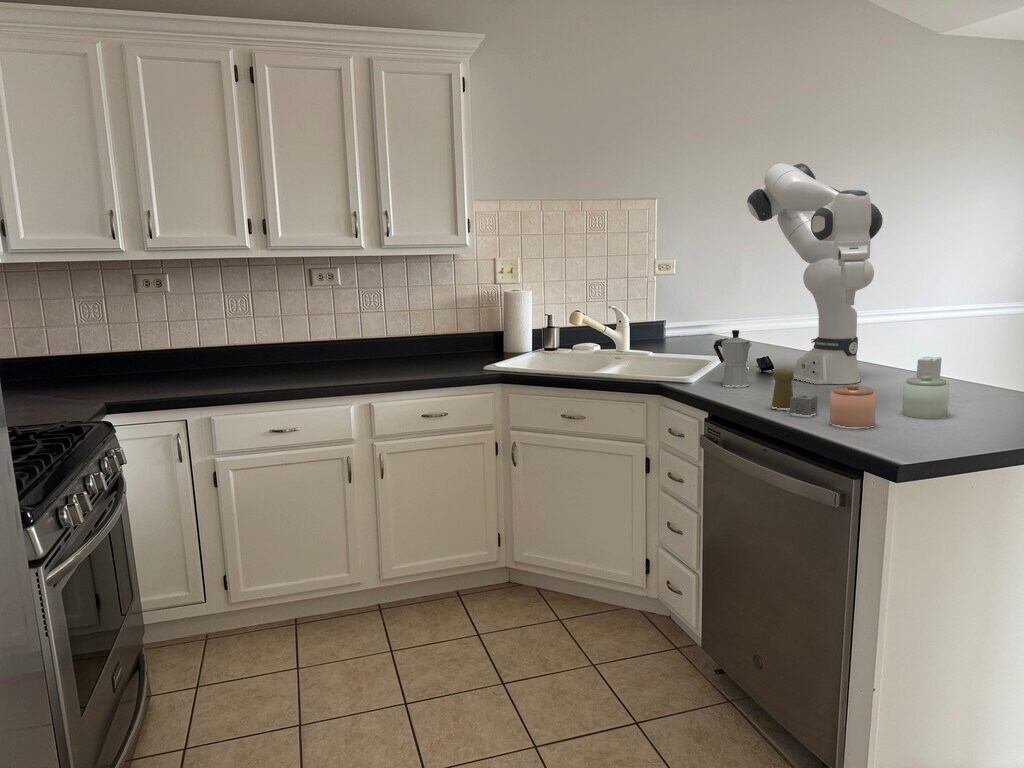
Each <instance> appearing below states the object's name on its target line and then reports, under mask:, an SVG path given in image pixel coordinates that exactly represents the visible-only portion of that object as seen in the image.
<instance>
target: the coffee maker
mask: <svg viewBox="0 0 1024 768" xmlns="http://www.w3.org/2000/svg"><path fill="white" fill-rule="evenodd" d="M731 333H732V334H731V335H732V337H731V338H726V337H725V338H720V339H716V340H715V341H714V344H713V349H714V351H715V354H716V355H717V357H718V360H719V362H720V363H721V364H722V363H725V365H724V370H723V376H722V380H721V381H722V383H723V385H730V386H732V385H740V386H742V385H747V384H749V383H750V382H749V377H748V370H747V364H746V362H747V361H748V358H749V357H748V356H749V353H750V352H749V350H750V348H751V346H753V344H752V343H751V340H749V339H745V338H742V337H739V335H740V330H738V329H733V330H731ZM719 347H720V348H721V349H722V352H721V350H720V348H719ZM722 383H721V384H722ZM749 385H750V384H749Z"/></svg>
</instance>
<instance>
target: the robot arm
mask: <svg viewBox="0 0 1024 768" xmlns="http://www.w3.org/2000/svg"><path fill="white" fill-rule="evenodd" d="M763 179H764V180H763V183H764V184H763V185H761V186H760V187H758V188H757V189H755V190H754V191H752V192H751V193H750V195H748V197H747V201H746V203H747V207H748V211H749V213H750V214H751V216H753V218H755V219H756V220H757V221H760V222H766V221H768V220H771V219H773V218H774V217H776V216H777V219H776V220H777V224H778V226H779V228H780V230H781V232H782V233H783V235H784V237H785V238H786V239H787V241H788V243H789V244H790V245H791V247H792V248H793V249H794V250H795V252H796V253H797V254H798V255H799V257H800V259H802V260H803V261H804V262H806V263H807V264H808V266H807V267H806V268H805V270H804V272H803V276H802V277H803V278H802V279H803V284H804V287H805V288H806V290H808V291H809V292H810V293H811V295H812V296H813V298H814V301H815V304H816V308H817V309H816V310H817V315H818V336H817V337H816V338H811V339H810V343H811V344H813V343H814V344H813V347H812V348H811V349H810V350H809V351H807V352H806V353H805V354H804V355H802V356H800V357H799V358H798V359H797V361H796V363H795V366H794V367H795V368H794V372H793V373H794V377H793V380H794V379H797V380H796V381H799V380H801V381H800V382H804V381H806V382H805V383H809V382H810V384H813V383H814V385H849V384H856V383H857V384H858V383H860V382H861V375H860V373H859V366H858V358H857V357H858V356H857V353H858V349H859V342H858V341H859V338H858V336H857V329H858V328H857V327H858V312H857V310H856V309H855V308H854V307H853V306H854V305H855V298H856V294H857V293H856V292H857V291H860V290H862V289H864V288H867V287H868V286H869V285H871V283H872V281H873V280H874V277H875V269H874V266H873V265H872V263H871V262H870V261H869V260H868V259H870V258H871V241H872V239H873V238H874V237H875V236H876V235H877V234H878V233H879V231H880V230H881V228H882V226H883V222H884V221H883V215H882V213H881V211H880V209H879V208H878V207H877V205H876V204H874V203H872V202H871V198H870V197H871V196H870V195H869V192H866V191H865V190H861V189H859V190H857V189H856V190H854V189H850V190H849V189H848V190H842V191H840V190H838V189H836V188H834V187H832V186H829V185H827V184H825V183H823V182H821V181H820V180H819V181H818V180H817V178H816V175H815V172H814V171H813V170H812V169H811V168H810V167H809V166H808V165H807V164H804V163H797V164H795V165H791V164H788V163H784V162H782V163H781V162H780V163H776V164H774V165H772V166H771V167H769V168H768V170H767V171H766V173H765V176H764V177H763ZM813 212H814V213H813Z"/></svg>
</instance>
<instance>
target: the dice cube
mask: <svg viewBox="0 0 1024 768" xmlns="http://www.w3.org/2000/svg"><path fill="white" fill-rule="evenodd" d="M818 397H819V396H817V395H811V394H810V395H809V394H801V393H799V394H796V395H793V396H792V397H790V411H789V414H790V413H796V414H802V415H811V414H814V413H817V414H818Z"/></svg>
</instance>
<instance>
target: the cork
mask: <svg viewBox="0 0 1024 768" xmlns="http://www.w3.org/2000/svg"><path fill="white" fill-rule="evenodd" d="M794 373H795V372H794V371H793V370H792V369H790V368H776V369H775V370H774V371H773V374H772V375H773V380H774V381H775V382H774V387H773V395H772V400H771V401H772V402H771V407H772V406H773V407H777V408H790V397H792V396H794V394H793V393H794V392H793V385H792V381H793V380H794V379H793V377H794Z"/></svg>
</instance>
